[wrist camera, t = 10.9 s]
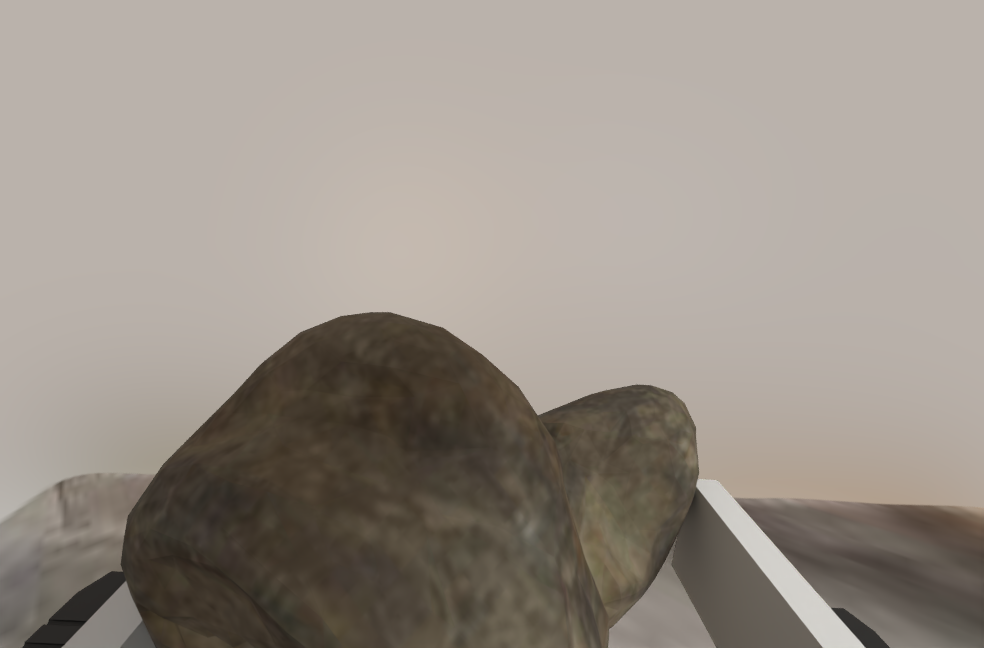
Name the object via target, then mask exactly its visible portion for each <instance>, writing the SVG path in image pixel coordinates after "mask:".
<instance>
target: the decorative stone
mask: <svg viewBox="0 0 984 648" xmlns="http://www.w3.org/2000/svg"><path fill="white" fill-rule="evenodd" d="M698 475H699V467H698V455H697V443H696V427H695V425H694V422H693V420H692V418H691V416H690V414H689V412H688V410H687V408H686V405H685V403H683V401H681V400H680V399H679V398H678V397H677V396H676V395H675V394H674V393H672V392H669V391H666V390H664V389H660V388H657V387H654V386H650V385H632V386H627V387H622V388H617V389H611V390H606V391H602V392H598V393H595V394H591V395H588V396H586V397H583V398H580V399H578V400H575V401H573V402H570V403H568V404H566V405H563V406H561V407H558V408H555V409H553V410H550V411H548V412H546V413H543V414H541V415H537V414H536V413H535V411H534V410H533V408H532V407H531V405H530V403H529V402H528V400H527V399H526V398H525V396H524V394H523V393H522V391H521V390H520V388H519V387H518V386H517V385H516V384H515V383H513V382H512V381H511V380H510V379H509V378H508V377H507V376H506V375H505V374H503V373H502V372H501V371H500V370H499V369H498V368H497V367H496V366H494V365H493V364H492V363H491V362H490V361H489V360H488V359H487V358H485V357H484V356H483V355H482V354H480V353H479V352H478V351H476V350H475V349H473V348H472V347H470V346H469V345H467V344H466V343H464V342H463V341H461V340H460V339H459V338H457V337H455V336H454V335H453V334H451V333H450V332H448V331H447V330H446V329H444V328H441V327H438V326H435V325H432V324H428V323H425V322H421V321H418V320H414V319H411V318H408V317H404V316H401V315H397V314H393V313H389V312H375V313H373V312H370V313H362V314H355V315H347V316H340V317H338V318H335V319H333V320H330V321H328V322H325V323H323V324H320V325H318V326H315V327H313V328H310V329H308V330H305V331H303V332H300V333H299V334H298V335H297V336H296V337H294V338H293V339H292V340H291V341H289V342H288V343H287V344H285V345H284V346H283V347H282V348H281V349H279V350H278V351H277V352H275V353H274V354H273V355H272V356H270V357H269V358H268V359H267V360H265V361H264V362H263V363H262V364H261V365H260V366H259V367H258V368H257V369H256V370H255V371H254V372H253V373H252V374H251V376H250V377H249V378H248V379H247V380H246V381H245V382H244V383H243V385H242V386H241V387H240V388H239V389H238V390H237V391H236V392H235V393H234V394H233V395H232V396H231V397H230V398H229V399H228V400H227V401H226V402H225V403H224V404H223V405H222V406H221V407H220V408H219V409H218V410H217V411H216V412H215V413H214V414H213V415H212V416H211V417H210V418H209V419H208V420H207V421H206V422H205V423H204V424H203V425H202V426H201V427H200V428H199V429H198V430H197V431H196V432H195V433H194V434H193V435H192V436H191V437H190V438H189V439H188V440H187V441H186V442H185V443H184V444H183V445H182V446H181V447H180V448H179V449H178V450H177V451H176V452H175V453H174V454H173V455H172V456H171V457H170V458H169V459H168V460H167V461H166V462H165V463H164V464H163V465H162V467H161V468H160V470H159V471H158V473H157V474H156V476H155V477H154V479H153V480H152V482H151V483H150V484H149V486H148V487H147V489H146V490H145V492H144V493H143V495H142V496H141V498H140V499H139V501H138V502H137V504H136V505H135V506H134V508H133V509H132V511H131V512H130V514H129V515H128V519H127V525H126V530H125V536H124V543H123V551H122V559H121V566H122V570H123V573H124V576H125V579H126V582H127V585H128V588H129V591H130V594H131V597H132V599H133V601H134V603H135V605H136V607H137V609H138V612H139V614H140V616H141V618H142V620H143V622H144V624H145V626H146V628H147V630H148V633H149V635H150V637H151V639H152V641H153V643H154V645H155V647H156V648H608V641H609V629H610V628H611V627H613V626H614V625H615V624H616V623H617V622H618V621H619V620H620V618H621V617H622V616H623V615H624V614H625V613H626V612H627V611H628V610H629V609H630V608H631V607H632V606H633V605H634V604H635V603H636V602H637V601H638V600H639V599H640V598H641V597H642V596H643V595H644V593H645V592H646V590H647V589H648V588H649V586H650V585H651V583H652V582H653V581H654V579H655V578H656V576H657V574H658V572H659V570H660V569H661V567H662V565H663V563H664V562H665V560H666V558H667V556H668V554H669V551H670V549H671V547H672V545H673V543H674V541H675V539H676V537H677V535H678V533H679V531H680V529H681V527H682V524H683V522H684V520H685V518H686V516H687V513H688V511H689V508H690V506H691V503H692V501H693V498H694V494H695V489H696V485H697V480H698Z"/></svg>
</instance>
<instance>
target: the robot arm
mask: <svg viewBox="0 0 984 648" xmlns="http://www.w3.org/2000/svg"><path fill="white" fill-rule="evenodd" d="M672 566H673V568H674V570H675V572H676V574H677V575H678V577H679V579H680V581H681V583H682V585H683V586H684V588H685V590H686V592H687V594H688V596H689V598H690V599H691V601H692V603H693V605H694V607H695V609H696V610H697V612H698V614H699V616H700V618H701V620H702V622H703V623H704V625H705V627H706V629H707V631H708V633H709V634H710V636H711V638H712V640H713V642H714V644H715V646H716V647H717V648H890V647H889V646H888V645H887V644H886V643H885V642H884V641H883V640H882V639H881V638H880V637H879V636H878V635H877V634H876V633H875V631H873V630H872V629H871V628H869V627H868V626H866V625H865V624H864V623H862V622H861V621H860V620H858V619H857V618H856V617H854V616H853V615H852V614H850V613H849V612H848V611H846V610H845V609H843V608H830V607H829V606H828V605H827V604H826V602H825V601H824V600H823V599H822V598H821V597H820V596H819V595H818V593H817V592H816V591H815V590H814V589H813V588H812V587H811V585H810V584H809V583H808V582H807V581H806V580H805V579H804V578H803V576H802V575H801V574H800V573H799V572H798V571H797V570H796V569H795V567H794V566H793V565H792V564H791V563H790V562H789V561H788V559H787V558H786V557H785V556H784V555H783V554H782V553H781V552H780V550H779V549H778V548H777V547H776V546H775V545H774V544H773V542H772V541H771V540H770V539H769V538H768V537H767V536H766V535H765V533H764V532H763V531H762V530H761V529H760V528H759V527H758V526H757V524H756V523H755V522H754V521H753V520H752V519H751V518H750V516H749V515H748V514H747V513H746V512H745V511H744V510H743V509H742V507H741V506H740V505H739V504H738V503H737V502H736V501H735V499H734V498H733V497H732V496H731V495H730V494H729V493H728V492H727V491H726V489H725V488H724V487H723V486H722V485H721V484H720V483H719V481H718V480H707V479H698V480H697V485H696V489H695V494H694V498H693V501H692V503H691V506H690V508H689V511H688V513H687V516H686V518H685V520H684V522H683V524H682V527H681V529H680V531H679V533H678V537H677V541H676V546H675V551H674V555H673V560H672ZM22 648H156V647H155V645H154V643H153V641H152V639H151V637H150V635H149V633H148V630H147V628H146V626H145V624H144V622H143V620H142V618H141V616H140V614H139V612H138V609H137V607H136V605H135V603H134V601H133V599H132V597H131V594H130V591H129V588H128V585H127V582H126V579H125V576H124V573H123V572H114V571H111V572H110V573H108V574H107V575H105V576H103V577H102V578H100V579H99V580H97V581H95V582H94V583H92V584H91V585H89V586H87V587H86V588H84V589H82V590H81V591H79V592H78V593H76V594H75V595H74V596H73V597H72V598H71V599H70V600H69V601H68V602H67V603H66V604H65V605H64V606H63V607H62V608H61V609H59V610H58V611H57V612H56V613H55V614H54V615H53V616H52V617H51V618H50V619H49V622H48V624H47V625H43V626H41V627H40V628H39V629H38V630H37V631H36V632H35V633H34V634H33V635H32V636H31V637H30V638H29V639H28V640H27V641H26V642H25V644H24V646H23V647H22Z"/></svg>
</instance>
